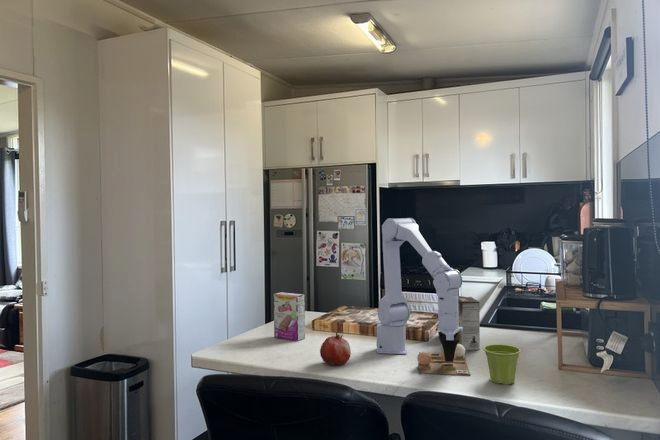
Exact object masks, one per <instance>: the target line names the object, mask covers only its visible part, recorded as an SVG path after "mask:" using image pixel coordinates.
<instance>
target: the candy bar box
mask: <svg viewBox="0 0 660 440" xmlns="http://www.w3.org/2000/svg"><path fill="white" fill-rule="evenodd" d="M305 298H306V296H305V294H302V293H291V292H285V291H283V292H282V291H281V292H276V293H273V323H274V324H273V330H274V332H273V334H274V335H273V337H274V338H277V339H283V340H287V341H288V340H289V341H295V342H299V341H302V340H304V339H306V315H305V313H306V309H305V307H306V306H305V304H306V303H305V300H306V299H305Z"/></svg>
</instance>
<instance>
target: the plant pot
mask: <svg viewBox="0 0 660 440" xmlns="http://www.w3.org/2000/svg"><path fill="white" fill-rule="evenodd" d="M483 351H484V352H485V355H486V359H487V366H488V370H489V371H488V372H489V379H490V381H491V382H493V383H495V384H503V385H510V384H514V383H515V380H516V374H517V373H516V372H517V365H518V364H517V363H518V359H519V356H520V353H521V352H522V351H521V349H520V348H519V347H517V346H514V345H510V344H509V345H508V344H499V343H498V344H488V345H485V346H484V347H483Z"/></svg>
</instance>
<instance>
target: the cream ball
mask: <svg viewBox="0 0 660 440" xmlns="http://www.w3.org/2000/svg"><path fill="white" fill-rule="evenodd" d="M455 352H456V357H462V356H463V355H464V356H465V353H466V350H465V348H464V346H463V345H461V344H457V346H456V350H455Z"/></svg>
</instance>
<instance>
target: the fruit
mask: <svg viewBox="0 0 660 440" xmlns="http://www.w3.org/2000/svg"><path fill="white" fill-rule="evenodd" d="M343 335H344V334H343V333H342V334H341V335H340V334H338V331H336V333H335V336H334V335H332V336H329V337H327V338H326V339H325V340H324V341H323V342H322V344H321V346H320V350H319V353H320V357H321V360H322V361H323V362H324V363H325V364H328V365H333V366H337V367H338V366H342V365H345V364H346V363H347V362H348V361H349V360H350V358H351V354H352V352H351V351H352V350H351V346H350V343H349V341H348V340H346V339H345V338H344V337H343Z"/></svg>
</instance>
